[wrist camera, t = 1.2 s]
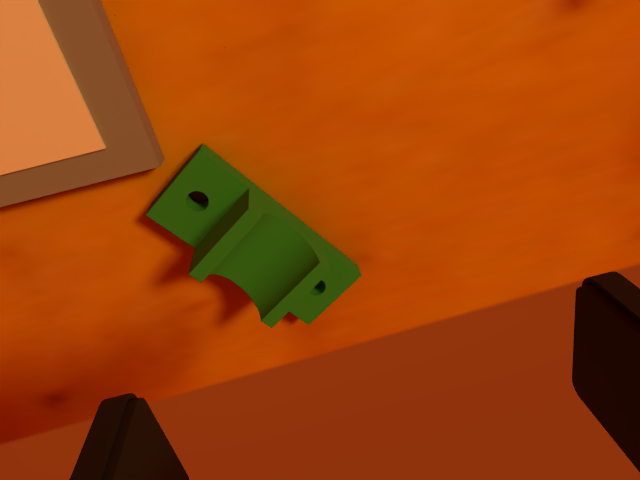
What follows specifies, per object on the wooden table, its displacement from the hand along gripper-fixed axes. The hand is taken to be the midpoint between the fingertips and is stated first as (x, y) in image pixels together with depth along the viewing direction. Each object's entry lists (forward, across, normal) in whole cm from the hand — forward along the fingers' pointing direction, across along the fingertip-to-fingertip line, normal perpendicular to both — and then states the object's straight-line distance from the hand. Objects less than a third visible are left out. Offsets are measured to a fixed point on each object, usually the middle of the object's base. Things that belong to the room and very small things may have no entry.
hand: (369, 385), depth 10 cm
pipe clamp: (+13, +1, 0) cm, 13 cm away
